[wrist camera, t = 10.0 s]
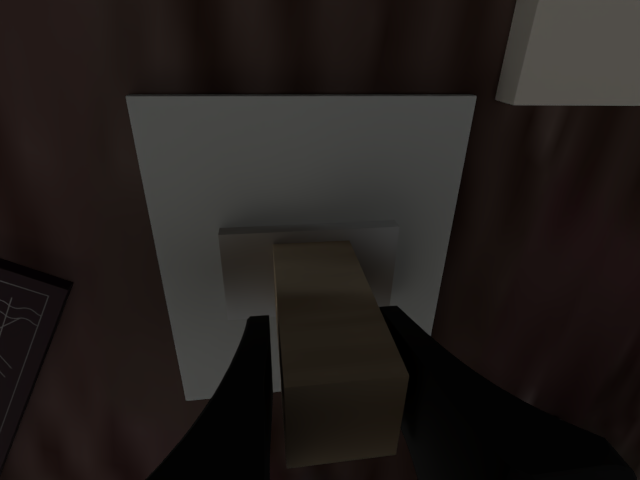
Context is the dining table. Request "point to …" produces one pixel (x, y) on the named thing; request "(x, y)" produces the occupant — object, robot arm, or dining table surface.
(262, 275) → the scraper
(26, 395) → the chocolate bar
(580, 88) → the tile
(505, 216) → the dining table surface
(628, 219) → the dining table surface
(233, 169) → the mat
